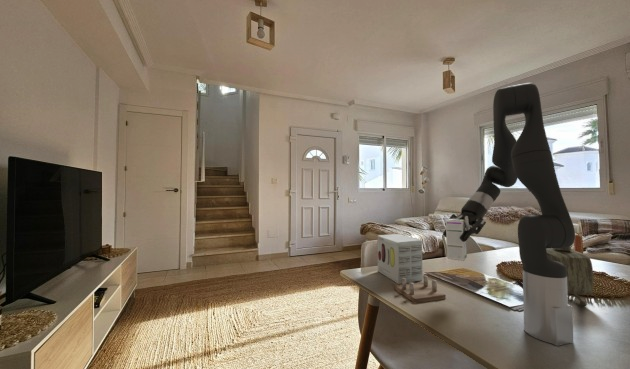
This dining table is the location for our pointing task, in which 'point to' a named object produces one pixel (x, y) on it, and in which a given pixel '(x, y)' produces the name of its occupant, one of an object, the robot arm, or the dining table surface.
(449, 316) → the dining table surface
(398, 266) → the supplement box
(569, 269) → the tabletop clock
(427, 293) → the pin tray
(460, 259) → the syrup box
